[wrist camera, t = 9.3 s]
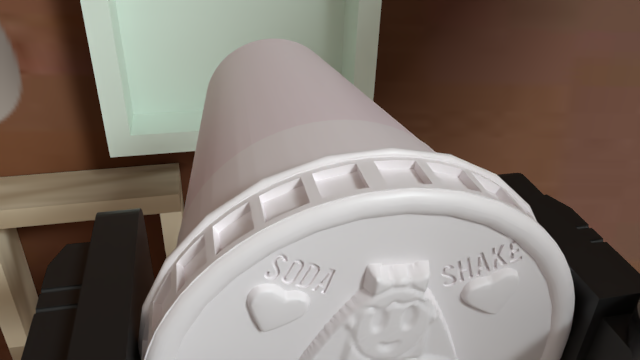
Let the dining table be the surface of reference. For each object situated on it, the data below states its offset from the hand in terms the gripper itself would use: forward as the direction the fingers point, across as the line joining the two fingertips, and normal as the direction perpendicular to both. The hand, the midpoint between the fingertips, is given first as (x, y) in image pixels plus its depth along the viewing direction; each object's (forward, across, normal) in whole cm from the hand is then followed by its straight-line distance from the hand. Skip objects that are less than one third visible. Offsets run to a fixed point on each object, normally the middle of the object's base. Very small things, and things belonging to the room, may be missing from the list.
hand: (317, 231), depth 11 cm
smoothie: (+6, 0, 0) cm, 6 cm away
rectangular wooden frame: (+18, +8, +13) cm, 23 cm away
